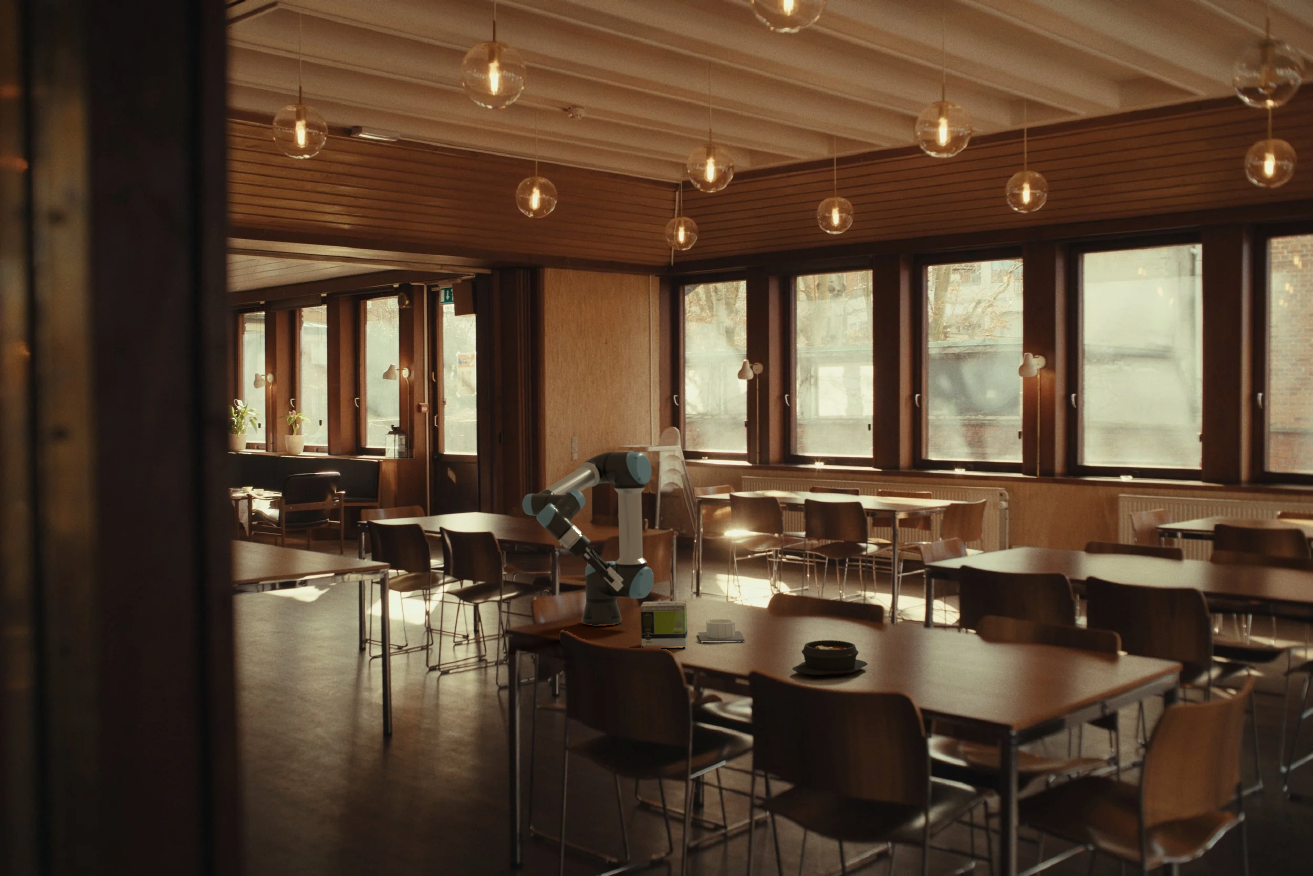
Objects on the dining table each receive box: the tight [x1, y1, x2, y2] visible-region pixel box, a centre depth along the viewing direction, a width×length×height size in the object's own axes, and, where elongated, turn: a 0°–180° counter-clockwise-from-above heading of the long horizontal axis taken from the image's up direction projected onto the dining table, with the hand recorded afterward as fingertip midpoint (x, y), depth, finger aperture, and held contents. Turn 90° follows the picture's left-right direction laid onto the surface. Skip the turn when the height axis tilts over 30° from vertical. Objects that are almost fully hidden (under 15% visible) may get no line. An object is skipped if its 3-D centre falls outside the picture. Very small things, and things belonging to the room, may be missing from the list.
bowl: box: [697, 618, 745, 641], centre depth 397 cm, size 15×15×6 cm
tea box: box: [639, 600, 688, 647], centre depth 385 cm, size 15×10×15 cm
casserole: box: [792, 639, 869, 677], centre depth 341 cm, size 25×19×8 cm
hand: (620, 585), depth 384 cm, fingers open, 13 cm apart
